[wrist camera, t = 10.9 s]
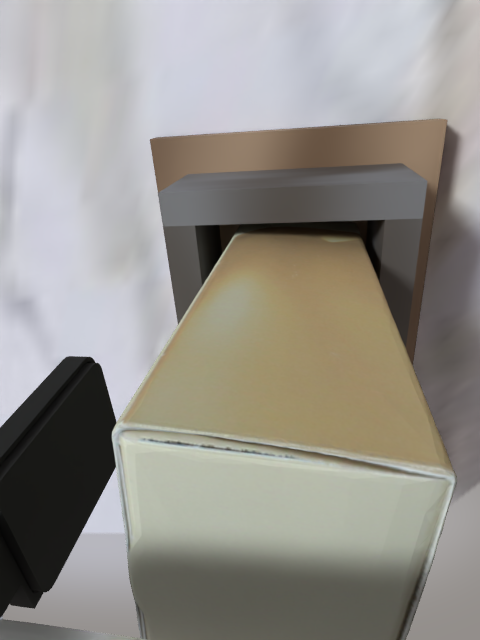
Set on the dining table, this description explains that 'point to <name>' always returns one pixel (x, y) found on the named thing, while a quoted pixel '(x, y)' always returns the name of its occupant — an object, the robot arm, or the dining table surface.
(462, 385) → the dining table surface
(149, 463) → the skincare box
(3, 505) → the robot arm
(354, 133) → the sleeve stand
